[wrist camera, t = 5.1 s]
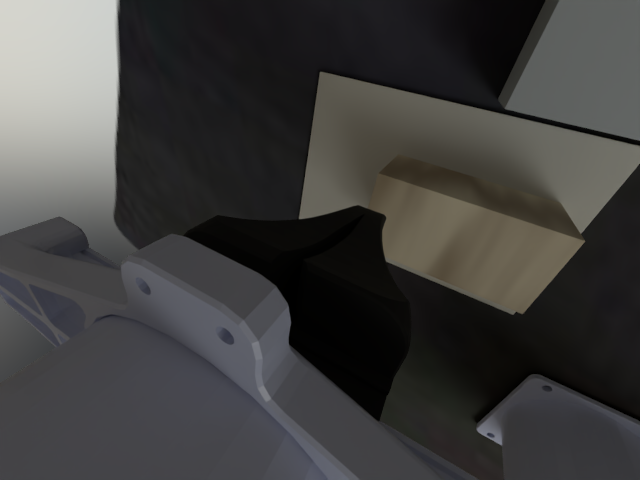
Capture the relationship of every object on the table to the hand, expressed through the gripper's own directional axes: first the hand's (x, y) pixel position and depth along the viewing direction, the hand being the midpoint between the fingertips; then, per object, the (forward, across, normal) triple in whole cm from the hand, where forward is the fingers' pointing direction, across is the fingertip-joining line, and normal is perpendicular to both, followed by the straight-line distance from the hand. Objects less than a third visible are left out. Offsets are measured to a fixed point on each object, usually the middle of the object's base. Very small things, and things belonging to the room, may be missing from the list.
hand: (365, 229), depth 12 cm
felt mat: (+6, -2, 0) cm, 6 cm away
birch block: (+4, 0, 0) cm, 4 cm away
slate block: (+6, -5, -8) cm, 11 cm away
